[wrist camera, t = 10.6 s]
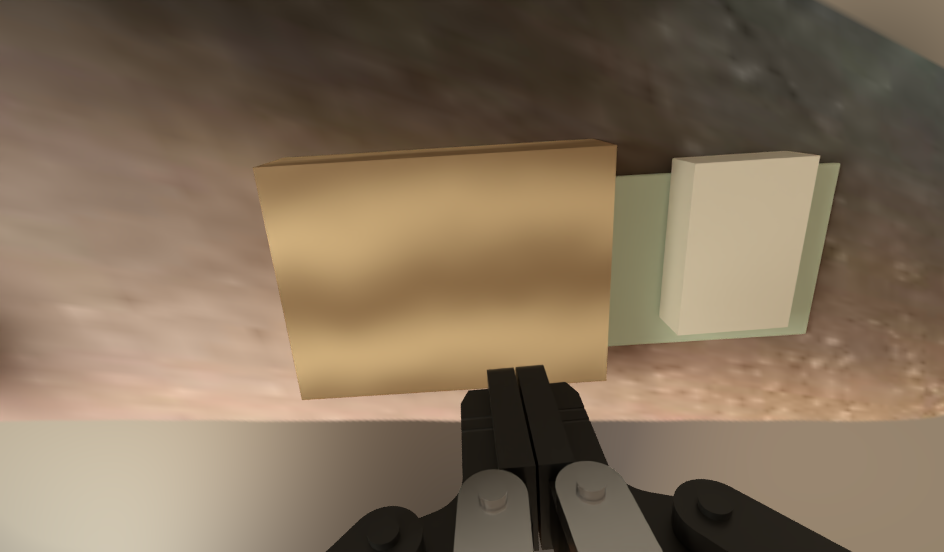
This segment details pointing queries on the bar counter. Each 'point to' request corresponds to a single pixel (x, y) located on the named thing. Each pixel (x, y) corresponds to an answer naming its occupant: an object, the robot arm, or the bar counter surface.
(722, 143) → the bar counter surface
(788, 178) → the beige rectangular block
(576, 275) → the serving board
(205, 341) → the bar counter surface
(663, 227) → the mat
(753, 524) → the robot arm
